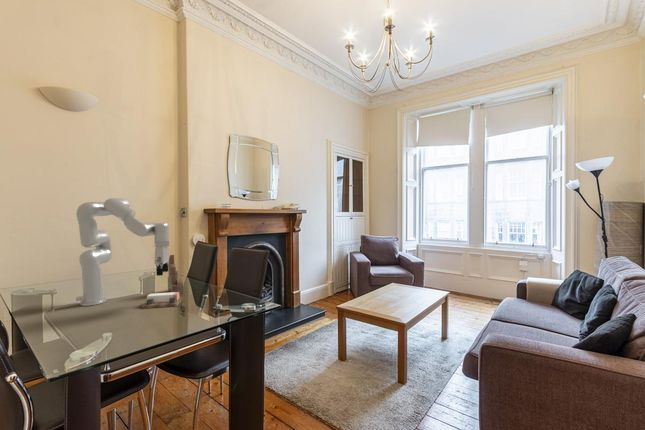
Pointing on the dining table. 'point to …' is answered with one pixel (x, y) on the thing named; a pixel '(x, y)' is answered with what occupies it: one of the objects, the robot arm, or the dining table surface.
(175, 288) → the wooden toy
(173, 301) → the brown fixture board
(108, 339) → the dining table surface
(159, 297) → the block
